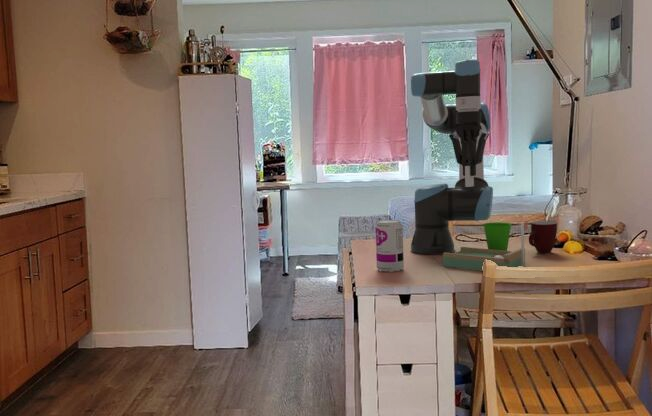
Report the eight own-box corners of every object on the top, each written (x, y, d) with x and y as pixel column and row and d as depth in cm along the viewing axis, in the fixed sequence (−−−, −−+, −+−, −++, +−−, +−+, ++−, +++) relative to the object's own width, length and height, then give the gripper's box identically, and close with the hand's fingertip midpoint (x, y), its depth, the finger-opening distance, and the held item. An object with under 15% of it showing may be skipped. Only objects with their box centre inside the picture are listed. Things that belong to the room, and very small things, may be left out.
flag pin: (518, 270, 173) (518, 222, 172) (524, 267, 177) (523, 221, 175) (525, 270, 172) (524, 223, 171) (530, 268, 175) (530, 221, 174)
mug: (542, 256, 191) (542, 226, 190) (521, 253, 197) (521, 224, 196) (561, 252, 197) (561, 222, 196) (540, 249, 203) (540, 220, 202)
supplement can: (385, 273, 176) (383, 224, 175) (372, 268, 184) (370, 221, 182) (408, 270, 180) (407, 221, 178) (395, 265, 187) (393, 218, 185)
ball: (490, 270, 176) (488, 257, 176) (496, 268, 179) (493, 255, 179) (503, 268, 174) (501, 255, 174) (508, 266, 177) (506, 253, 177)
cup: (497, 261, 186) (496, 227, 185) (477, 257, 194) (476, 224, 193) (518, 258, 190) (518, 224, 189) (498, 254, 198) (497, 221, 197)
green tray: (443, 266, 183) (442, 249, 183) (462, 259, 192) (461, 243, 191) (507, 273, 169) (507, 255, 169) (525, 266, 178) (524, 248, 178)
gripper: (443, 112, 186) (445, 187, 189) (481, 109, 177) (482, 188, 180) (456, 112, 191) (457, 184, 194) (493, 109, 182) (494, 185, 185)
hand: (469, 186), depth 187 cm, fingers closed
